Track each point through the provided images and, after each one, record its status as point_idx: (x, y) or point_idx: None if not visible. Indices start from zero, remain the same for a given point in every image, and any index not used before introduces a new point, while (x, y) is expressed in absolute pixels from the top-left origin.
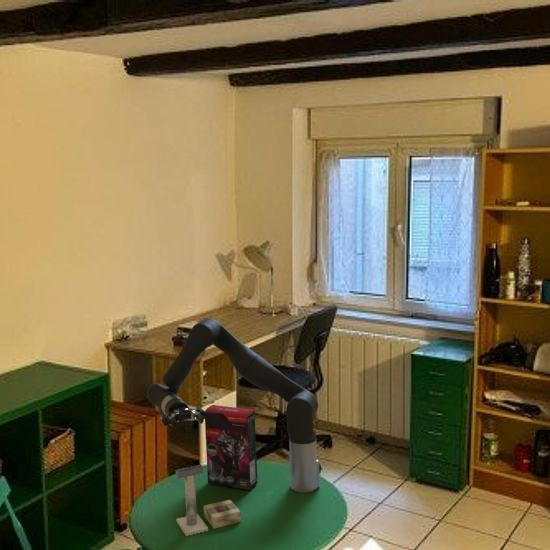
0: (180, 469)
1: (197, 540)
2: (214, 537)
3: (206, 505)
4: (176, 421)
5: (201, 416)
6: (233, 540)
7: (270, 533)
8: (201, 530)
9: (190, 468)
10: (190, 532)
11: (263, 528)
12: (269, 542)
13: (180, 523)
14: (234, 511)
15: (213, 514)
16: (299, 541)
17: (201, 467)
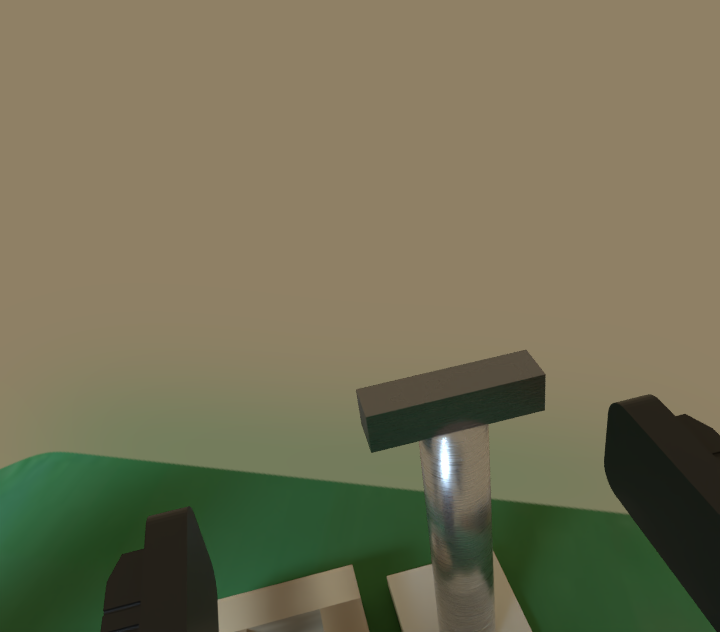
0: (510, 373)
1: None
2: (366, 534)
3: None
4: (632, 407)
5: (145, 546)
6: (294, 506)
7: (139, 530)
8: (419, 570)
9: (440, 380)
10: None
11: None
12: (173, 479)
13: None
14: (231, 609)
15: (345, 596)
16: (75, 473)
17: (364, 389)
